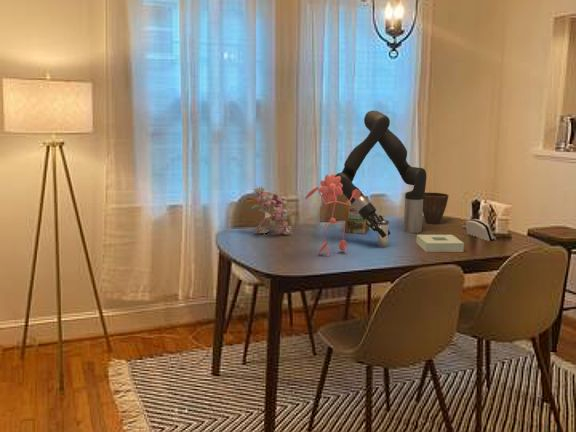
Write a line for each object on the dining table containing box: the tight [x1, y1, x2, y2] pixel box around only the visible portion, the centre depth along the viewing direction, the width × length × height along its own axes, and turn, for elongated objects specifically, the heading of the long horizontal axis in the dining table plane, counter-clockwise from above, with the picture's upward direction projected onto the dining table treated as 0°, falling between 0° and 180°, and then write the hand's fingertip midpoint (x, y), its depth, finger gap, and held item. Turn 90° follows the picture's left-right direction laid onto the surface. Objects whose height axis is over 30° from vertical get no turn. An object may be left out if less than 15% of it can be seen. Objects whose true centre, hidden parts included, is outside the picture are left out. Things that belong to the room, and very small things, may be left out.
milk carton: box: [344, 195, 370, 235], centre depth 302 cm, size 11×11×19 cm
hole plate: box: [416, 234, 465, 253], centre depth 272 cm, size 17×17×4 cm
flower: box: [251, 186, 294, 236], centre depth 294 cm, size 20×22×25 cm
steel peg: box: [377, 219, 390, 248], centre depth 273 cm, size 5×5×12 cm
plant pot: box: [423, 192, 449, 225], centre depth 327 cm, size 15×15×16 cm
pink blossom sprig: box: [304, 173, 361, 257], centre depth 259 cm, size 15×26×35 cm, turn 117°
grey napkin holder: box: [465, 218, 497, 242], centre depth 294 cm, size 17×5×10 cm, turn 19°
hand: (386, 235), depth 272 cm, fingers closed on steel peg, 4 cm apart
